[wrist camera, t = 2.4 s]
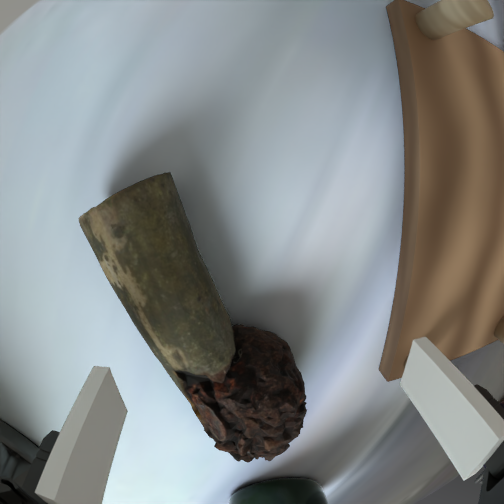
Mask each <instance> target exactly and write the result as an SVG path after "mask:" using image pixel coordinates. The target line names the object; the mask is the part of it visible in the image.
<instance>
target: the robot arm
mask: <svg viewBox="0 0 504 504" xmlns="http://www.w3.org/2000/svg"><path fill="white" fill-rule="evenodd" d="M400 386H401V387H402V389H403V390H404V391H405V393H406V394H407V396H408V397H409V399H410V400H411V401H412V403H413V404H414V406H415V407H416V409H417V410H418V412H419V413H420V414H421V416H422V417H423V419H424V420H425V422H426V423H427V425H428V426H429V428H430V429H431V431H432V432H433V434H434V435H435V437H436V438H437V440H438V441H439V443H440V444H441V446H442V447H443V449H444V451H445V452H446V454H447V455H448V457H449V458H450V460H451V461H452V463H453V465H454V466H455V468H456V469H457V471H458V473H459V474H460V476H461V477H462V478H463V480H466V479H468V478H469V477H471V476H472V475H474V474H475V473H477V472H478V470H480V469H481V467H482V466H483V465H484V464H485V466H486V468H485V470H484V471H483V472H482V473H481V474H480V475H479V476H478V477H477V478H476V480H475V483H477V482H478V481H479V480H480V479H481V478H482V477H483V479H482V480H481V482H480V483H481V484H482V486H481V492H480V497H479V502H478V504H504V408H503V407H502V406H501V405H500V404H498V402H497V401H496V400H495V398H494V399H493V396H492V395H491V394H490V393H489V392H488V391H487V390H486V389H484V388H483V387H481V386H479V385H475V386H473V385H472V384H471V383H470V382H469V381H468V379H467V378H466V377H465V376H464V375H463V374H462V373H461V372H460V371H459V370H458V369H457V368H456V367H455V366H454V365H453V364H452V363H451V362H450V361H449V360H448V359H447V357H446V356H445V355H444V354H443V353H442V352H441V351H440V350H439V349H438V348H437V347H436V346H435V345H434V344H433V343H432V342H431V341H430V340H429V339H428V338H427V337H422V338H418V339H414V340H413V342H412V346H411V349H410V353H409V356H408V360H407V363H406V366H405V369H404V372H403V375H402V379H401V381H400ZM126 414H127V409H126V407H125V404H124V402H123V400H122V398H121V395H120V393H119V390H118V388H117V386H116V383H115V381H114V378H113V376H112V373H111V370H110V368H109V367H99V366H94V367H93V369H92V370H91V372H90V374H89V376H88V378H87V380H86V382H85V383H84V385H83V387H82V389H81V391H80V393H79V395H78V397H77V399H76V401H75V403H74V405H73V407H72V409H71V411H70V413H69V415H68V417H67V419H66V421H65V423H64V425H63V427H62V429H61V432H57V431H53V430H52V431H51V432H50V433H49V434H48V435H47V436H46V437H45V438H44V439H43V441H42V443H41V445H40V447H39V448H38V447H37V446H36V445H35V444H33V443H32V442H31V441H30V440H28V439H27V438H26V437H24V436H23V435H22V434H20V433H19V432H17V431H16V430H15V429H13V428H12V427H10V426H9V425H7V424H6V423H4V422H2V421H1V420H0V504H102V500H103V496H104V492H105V488H106V484H107V480H108V476H109V473H110V469H111V465H112V462H113V458H114V454H115V451H116V447H117V444H118V441H119V437H120V434H121V431H122V427H123V424H124V421H125V418H126Z"/></svg>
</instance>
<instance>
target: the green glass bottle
mask: <svg viewBox="0 0 504 504" xmlns="http://www.w3.org/2000/svg"><path fill="white" fill-rule="evenodd" d="M229 504H328V502H327V499H326V496H325V493H324V491H323V488H322V486H321V485H320V484H319V483H318V482H316V481H314V480H311V479H305V478H281V479H273V480H268V481H263V482H259V483H255V484H252V485H249V486H247V487H245V488H243V489H240V490H239V491H237V492H236V493H234V494H233V495H232V496H231V498H230V500H229Z"/></svg>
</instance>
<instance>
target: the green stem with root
mask: <svg viewBox="0 0 504 504" xmlns="http://www.w3.org/2000/svg"><path fill="white" fill-rule="evenodd" d="M79 223H80V226H81V228H82V230H83V232H84V234H85V236H86V238H87V240H88V242H89V243H90V245H91V247H92V249H93V251H94V253H95V255H96V257H97V259H98V261H99V263H100V265H101V267H102V269H103V271H104V273H105V275H106V277H107V279H108V281H109V282H110V284H111V286H112V288H113V289H114V291H115V293H116V294H117V296H118V298H119V299H120V301H121V302H122V304H123V306H124V307H125V309H126V311H127V312H128V314H129V316H130V318H131V319H132V321H133V323H134V324H135V326H136V327H137V329H138V331H139V332H140V334H141V335H142V337H143V338H144V340H145V341H146V343H147V344H148V346H149V347H150V349H151V350H152V352H153V353H154V355H155V356H156V357H157V359H158V360H159V361H160V362H161V364H162V365H163V367H164V368H165V370H166V371H167V373H168V374H169V375H170V377H171V378H172V380H173V381H174V382H175V384H176V385H177V387H178V388H179V389H180V391H181V392H182V393H183V395H184V396H185V397H186V398H187V400H188V401H189V402H190V404H191V406H192V409H193V411H194V413H195V414H196V416H197V417H198V419H199V420H200V422H201V424H202V425H203V427H204V431H205V432H206V433H207V434H208V436H209V437H210V438H213V439H214V441H215V442H216V444H215V446H214V447H216V448H217V449H218V450H222V451H225V452H229V453H230V454H231V455H232V456H233V457H234V459H236V460H237V461H238V462H239V461H240V460H244V461H245V462H250V461H252V460H253V458H254V457H255V459H258V458H259V457H264V458H265V460H268V461H271V460H272V459H273V458H274V457H275V456H277V455H280V454H282V453H283V452H285V451H286V450H287V449H288V448H289V446H290V445H289V444H288V443H289V442H291V441H292V440H293V439H295V438H296V437H298V435H299V434H300V430H301V428H303V419H304V417H305V414H306V411H307V410H306V407H305V405H306V402H304V401H305V400H306V395H305V387H304V381H303V379H302V375H301V372H300V371H299V370H298V368H297V367H296V364H295V361H294V357H293V354H292V353H291V351H290V347H289V346H288V344H287V342H286V341H284V340H282V339H281V338H279V337H278V336H277V335H276V334H274V333H272V332H269V331H263V330H259V329H257V328H255V327H245V326H243V325H235V326H232V325H231V321H230V317H229V315H228V313H227V311H226V309H225V307H224V305H223V303H222V301H221V299H220V297H219V294H218V292H217V290H216V288H215V285H214V283H213V281H212V279H211V276H210V274H209V272H208V270H207V268H206V266H205V264H204V262H203V260H202V258H201V255H200V253H199V251H198V249H197V246H196V243H195V240H194V237H193V234H192V231H191V228H190V225H189V222H188V220H187V217H186V214H185V211H184V208H183V206H182V203H181V200H180V198H179V195H178V192H177V189H176V187H175V184H174V181H173V178H172V176H171V174H170V172H168V173H163V174H160V175H156V176H153V177H150V178H148V179H145V180H143V181H140V182H138V183H136V184H134V185H132V186H130V187H127V188H125V189H123V190H121V191H119V192H117V193H116V194H114V195H112V196H111V197H109V198H107V199H106V200H105V201H103V202H102V203H100V204H99V205H98V206H96V207H93V208H91V209H90V210H89V211H88V212H86V213H84V214H83V215H82V216H80V218H79Z"/></svg>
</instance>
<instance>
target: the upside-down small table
mask: <svg viewBox="0 0 504 504" xmlns="http://www.w3.org/2000/svg"><path fill="white" fill-rule="evenodd" d="M386 9H387V13H388V17H389V22H390V26H391V31H392V36H393V41H394V47H395V53H396V59H397V66H398V73H399V81H400V89H401V99H402V111H403V126H404V153H405V182H404V210H403V226H402V238H401V248H400V258H399V266H398V274H397V281H396V288H395V294H394V300H393V306H392V312H391V317H390V322H389V327H388V332H387V337H386V341H385V346H384V350H383V354H382V359H381V363H380V367H379V371H380V372H381V373H382V375H383V376H384V378H385V379H386V380H387V382H388V381H392V380H395V379H399V378H402V375H403V372H404V369H405V366H406V363H407V360H408V356H409V353H410V349H411V346H412V342H413V340H414V339H418V338H422V337H427V338H428V339H429V340H430V341H431V342H432V343H433V344H434V345H435V346H436V347H437V348H438V349H439V350H440V351H441V352H442V353H443V354H444V355H445V356H446V357H447V359H448V360H449V361H451V360H453V359H456V358H458V357H461V356H463V355H466V354H468V353H470V352H473V351H475V350H477V349H479V348H482V347H484V346H486V345H488V344H490V343H492V342H494V341H496V340H500V341H501V342H502V343H503V344H504V52H503V51H502V50H500V49H499V48H497V47H496V46H494V45H493V44H491V43H490V42H488V41H486V40H485V39H483V38H482V37H480V36H478V35H476V34H475V33H473V32H471V31H469V30H468V29H466V28H467V27H470V26H472V25H475V24H478V23H481V22H483V21H486V20H489V19H492V18H493V16H494V14H493V10H492V8H491V6H490V4H489V2H488V1H487V0H440V1H439V2H437V3H435V4H433V5H431V6H430V7H428V8H426V9H425V8H422V7H420V6H417V5H415V4H412V3H410V2H407V1H405V0H394V1H393V2H392V3H390V4H389V5H388V6H387V7H386Z"/></svg>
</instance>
